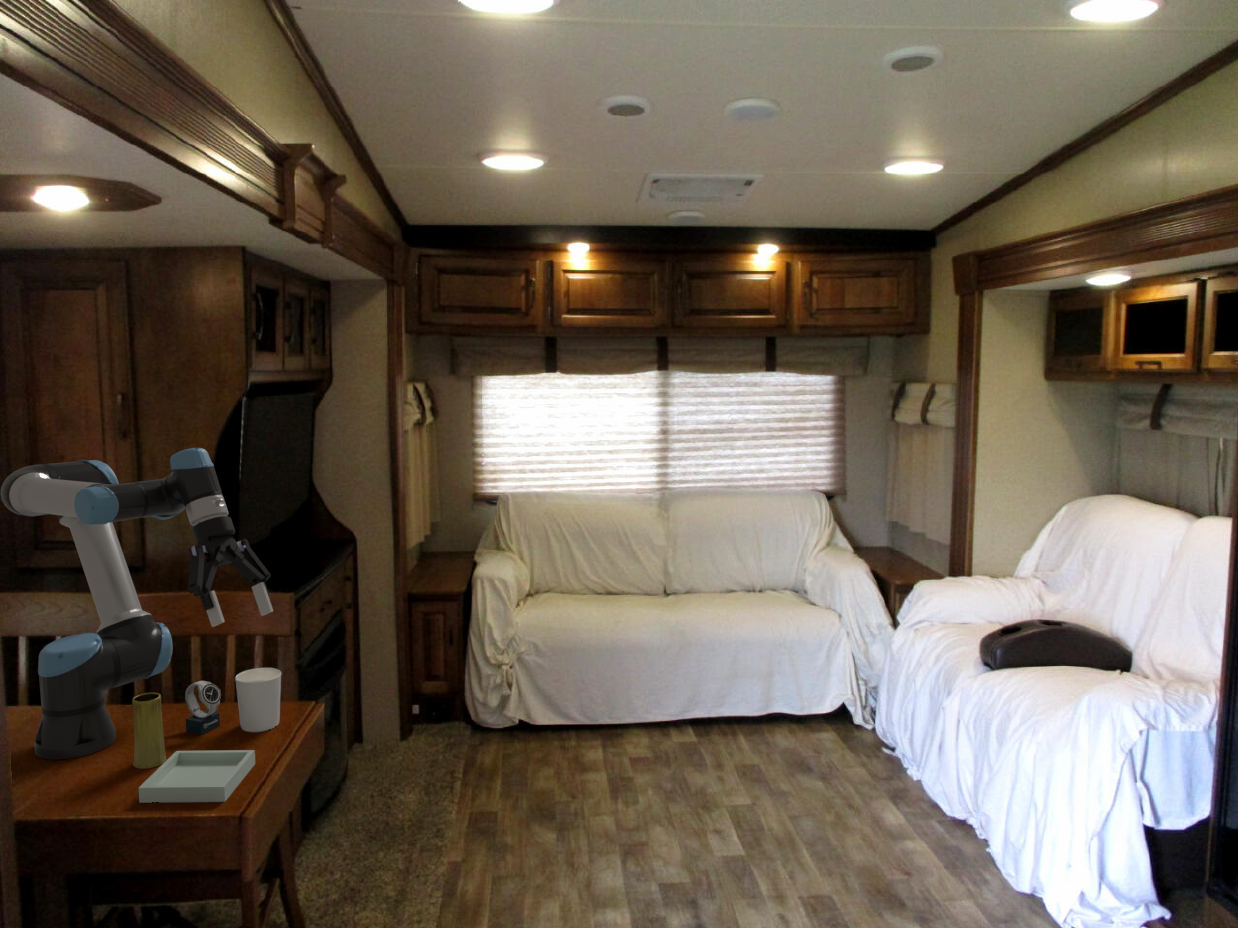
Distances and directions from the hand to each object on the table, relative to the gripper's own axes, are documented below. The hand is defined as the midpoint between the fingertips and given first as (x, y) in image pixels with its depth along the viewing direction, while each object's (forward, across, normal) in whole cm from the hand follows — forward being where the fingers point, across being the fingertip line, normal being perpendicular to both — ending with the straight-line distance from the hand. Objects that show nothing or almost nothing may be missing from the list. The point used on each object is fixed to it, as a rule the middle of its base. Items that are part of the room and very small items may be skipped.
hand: (243, 618), depth 179 cm
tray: (+27, -4, +19) cm, 33 cm away
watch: (+17, +16, +35) cm, 42 cm away
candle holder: (+21, +22, +26) cm, 40 cm away
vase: (+20, -1, +34) cm, 39 cm away
